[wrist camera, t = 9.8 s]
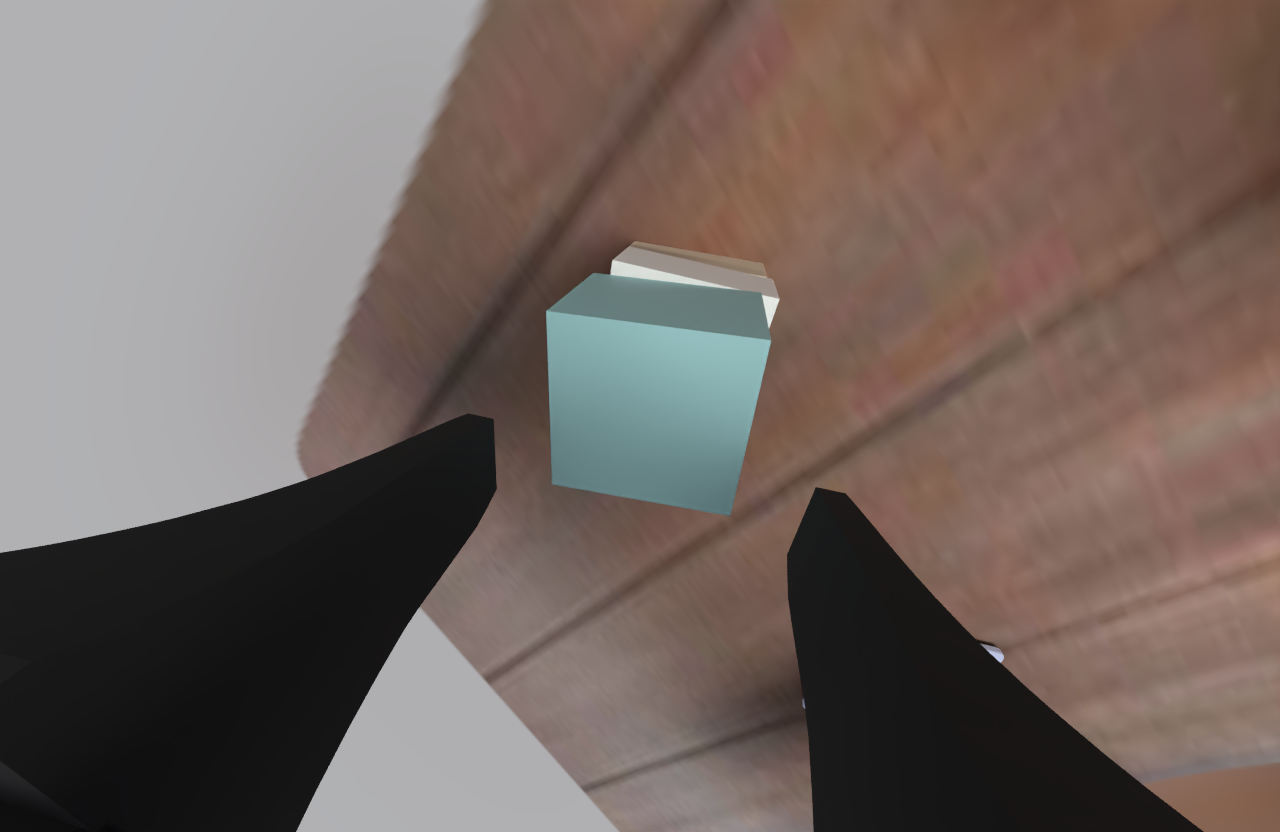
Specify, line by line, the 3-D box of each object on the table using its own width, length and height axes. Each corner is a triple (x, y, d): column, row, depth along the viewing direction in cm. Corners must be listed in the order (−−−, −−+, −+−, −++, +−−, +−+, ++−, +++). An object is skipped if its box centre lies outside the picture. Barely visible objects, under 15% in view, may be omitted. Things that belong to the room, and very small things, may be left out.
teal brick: (731, 437, 16) (730, 516, 12) (590, 415, 16) (552, 484, 13) (761, 292, 13) (771, 340, 10) (593, 272, 14) (546, 311, 10)
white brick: (730, 405, 18) (730, 439, 16) (608, 375, 18) (591, 404, 16) (772, 279, 15) (779, 298, 13) (629, 246, 15) (612, 259, 13)
